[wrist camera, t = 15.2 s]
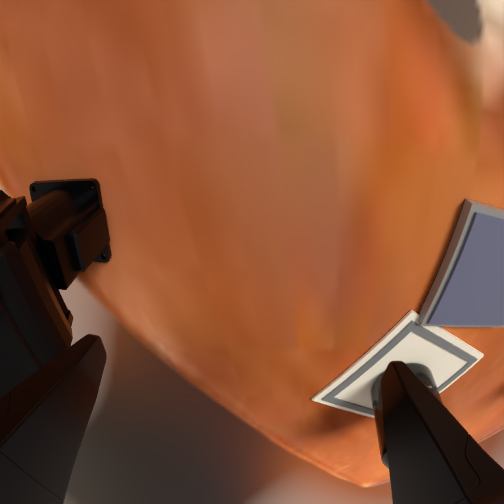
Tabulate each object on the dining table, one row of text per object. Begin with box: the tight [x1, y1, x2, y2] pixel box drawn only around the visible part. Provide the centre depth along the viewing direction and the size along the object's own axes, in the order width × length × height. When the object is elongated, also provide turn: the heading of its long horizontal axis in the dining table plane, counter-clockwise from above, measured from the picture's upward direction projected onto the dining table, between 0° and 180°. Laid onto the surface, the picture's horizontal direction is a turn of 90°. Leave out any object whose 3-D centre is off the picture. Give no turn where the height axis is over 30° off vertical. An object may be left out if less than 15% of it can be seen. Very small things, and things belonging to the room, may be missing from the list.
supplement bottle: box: [371, 363, 443, 468], centre depth 23 cm, size 7×7×12 cm
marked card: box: [312, 310, 484, 418], centre depth 29 cm, size 14×14×1 cm
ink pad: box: [418, 198, 504, 327], centre depth 21 cm, size 11×11×1 cm
